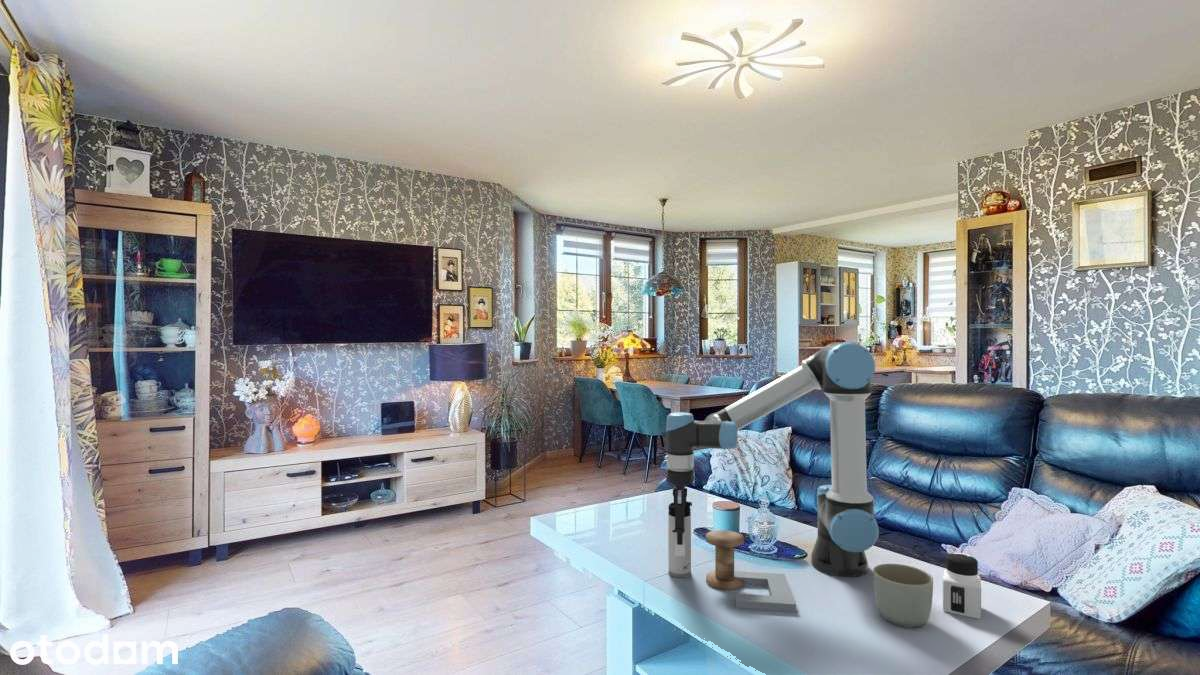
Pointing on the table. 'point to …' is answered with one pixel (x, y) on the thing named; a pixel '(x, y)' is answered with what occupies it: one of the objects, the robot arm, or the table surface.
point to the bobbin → (724, 559)
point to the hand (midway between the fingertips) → (680, 550)
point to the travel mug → (677, 564)
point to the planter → (903, 594)
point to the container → (962, 586)
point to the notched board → (775, 601)
